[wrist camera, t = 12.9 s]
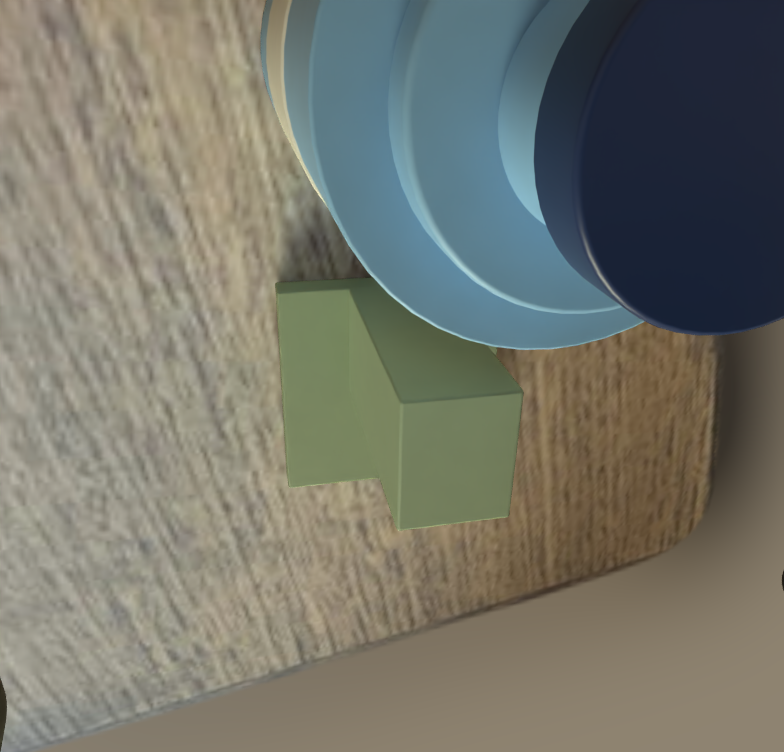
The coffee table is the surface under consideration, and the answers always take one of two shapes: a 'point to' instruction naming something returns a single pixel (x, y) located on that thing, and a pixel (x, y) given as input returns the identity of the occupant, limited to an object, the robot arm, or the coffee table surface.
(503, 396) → the green stepped block
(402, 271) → the bottle
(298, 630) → the coffee table surface
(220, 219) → the coffee table surface
